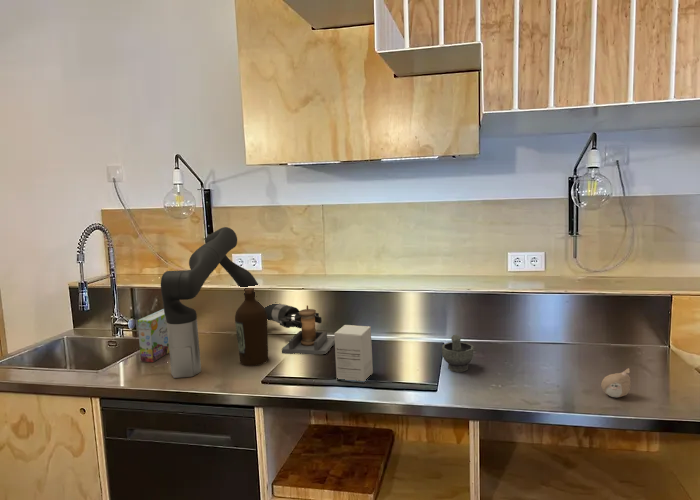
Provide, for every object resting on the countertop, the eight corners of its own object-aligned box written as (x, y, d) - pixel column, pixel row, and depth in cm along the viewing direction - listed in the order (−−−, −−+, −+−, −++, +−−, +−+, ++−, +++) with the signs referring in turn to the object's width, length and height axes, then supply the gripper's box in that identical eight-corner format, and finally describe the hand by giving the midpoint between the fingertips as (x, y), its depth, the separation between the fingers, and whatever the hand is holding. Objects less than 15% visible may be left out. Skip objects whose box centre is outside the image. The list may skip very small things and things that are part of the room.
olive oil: (264, 353, 179) (260, 284, 176) (274, 362, 170) (269, 289, 167) (234, 359, 175) (229, 287, 171) (242, 369, 165) (237, 293, 162)
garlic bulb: (621, 403, 130) (622, 373, 129) (596, 395, 135) (597, 366, 134) (634, 396, 134) (635, 366, 132) (609, 388, 139) (610, 360, 138)
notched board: (336, 342, 189) (335, 330, 188) (325, 355, 175) (325, 342, 175) (295, 340, 193) (294, 329, 192) (281, 353, 179) (281, 340, 179)
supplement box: (346, 370, 160) (344, 324, 158) (373, 372, 157) (371, 325, 155) (335, 381, 152) (333, 332, 150) (364, 384, 149) (362, 334, 147)
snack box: (154, 362, 175) (150, 320, 173) (140, 362, 176) (135, 319, 174) (186, 343, 196) (182, 304, 194) (173, 342, 197) (169, 304, 195)
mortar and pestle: (444, 361, 164) (443, 325, 163) (474, 363, 162) (474, 326, 160) (440, 374, 154) (439, 336, 152) (472, 376, 151) (471, 337, 149)
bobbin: (317, 345, 181) (315, 308, 179) (301, 346, 181) (299, 309, 179) (317, 340, 187) (315, 304, 185) (301, 341, 186) (299, 305, 185)
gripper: (269, 309, 189) (294, 316, 176) (300, 301, 198) (326, 308, 185) (270, 328, 190) (295, 337, 177) (301, 320, 199) (327, 328, 186)
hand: (311, 322), depth 181 cm, fingers open, 8 cm apart
